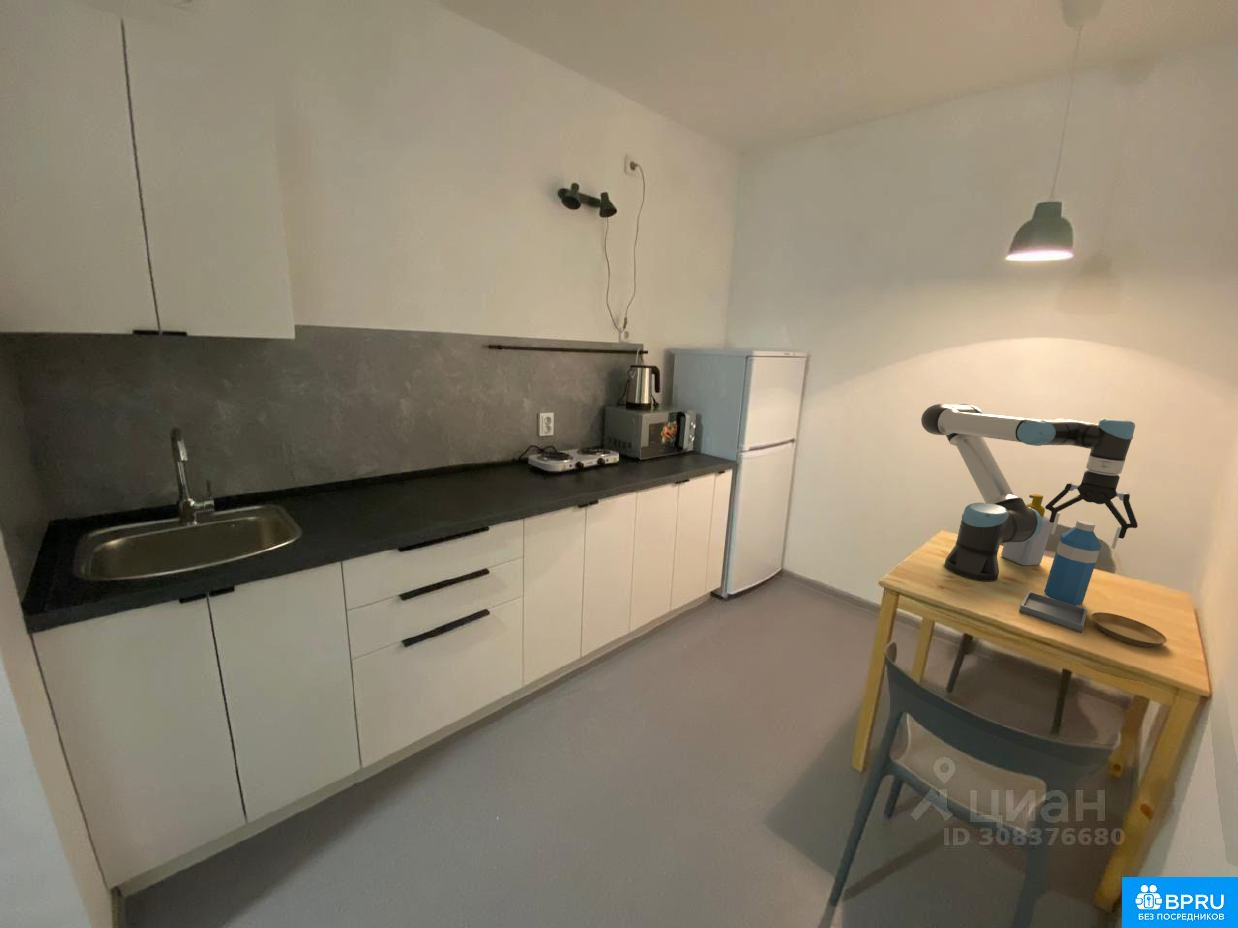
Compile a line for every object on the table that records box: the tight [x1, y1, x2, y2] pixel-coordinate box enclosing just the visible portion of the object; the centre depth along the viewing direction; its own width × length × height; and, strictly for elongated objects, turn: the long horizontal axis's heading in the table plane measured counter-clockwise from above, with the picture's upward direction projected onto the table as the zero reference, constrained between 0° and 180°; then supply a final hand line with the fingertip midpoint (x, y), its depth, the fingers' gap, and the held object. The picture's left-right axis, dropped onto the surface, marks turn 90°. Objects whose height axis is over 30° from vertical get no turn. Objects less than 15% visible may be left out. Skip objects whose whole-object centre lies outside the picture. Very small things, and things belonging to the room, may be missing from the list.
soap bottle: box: [1001, 493, 1054, 566], centre depth 178 cm, size 9×9×25 cm
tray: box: [1018, 590, 1088, 634], centre depth 144 cm, size 14×14×2 cm
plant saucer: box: [1090, 611, 1168, 648], centre depth 135 cm, size 15×15×3 cm
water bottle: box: [1043, 519, 1102, 606], centre depth 151 cm, size 9×9×25 cm
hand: (1081, 540), depth 149 cm, fingers open, 13 cm apart
